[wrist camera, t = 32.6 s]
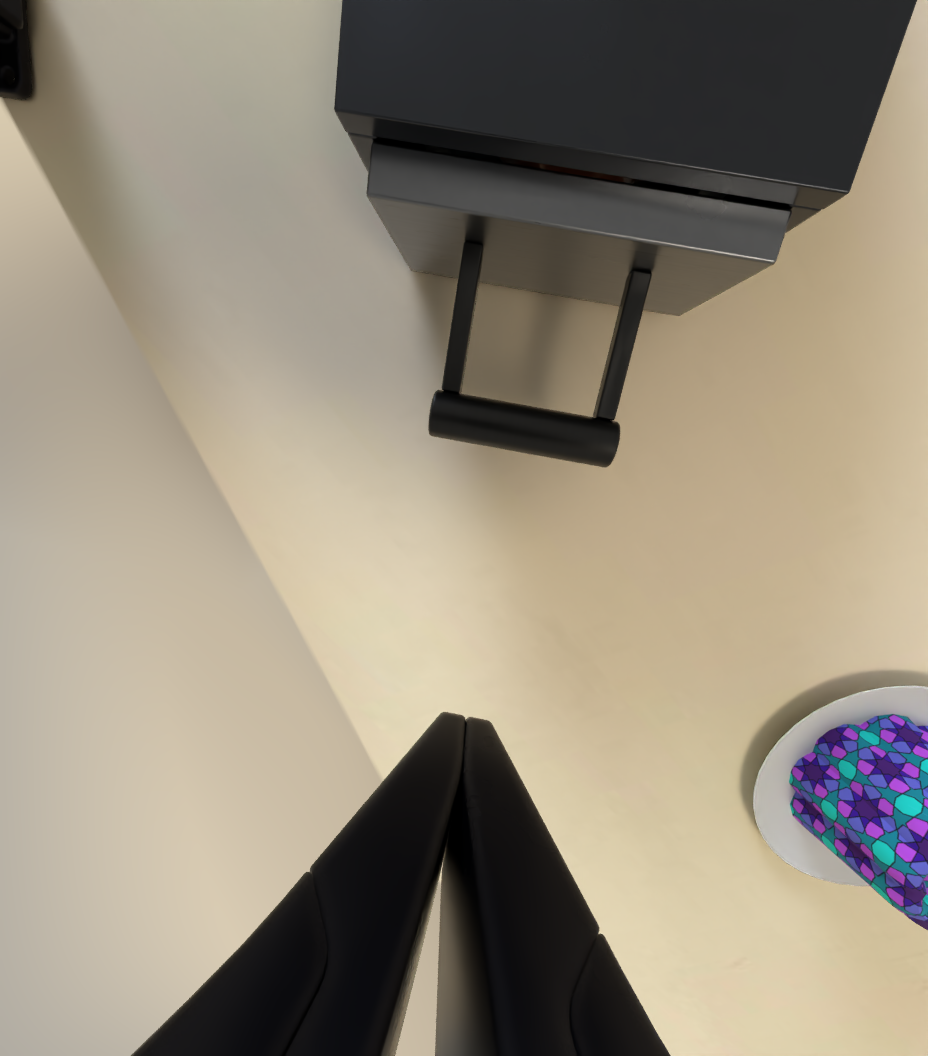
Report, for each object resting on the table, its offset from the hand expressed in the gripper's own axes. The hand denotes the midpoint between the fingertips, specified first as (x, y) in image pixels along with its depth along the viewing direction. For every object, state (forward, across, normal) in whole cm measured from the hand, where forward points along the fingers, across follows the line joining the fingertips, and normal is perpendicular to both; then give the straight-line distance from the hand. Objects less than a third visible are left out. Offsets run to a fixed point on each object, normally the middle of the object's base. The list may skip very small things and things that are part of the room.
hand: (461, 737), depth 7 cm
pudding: (+13, -22, +9) cm, 27 cm away
